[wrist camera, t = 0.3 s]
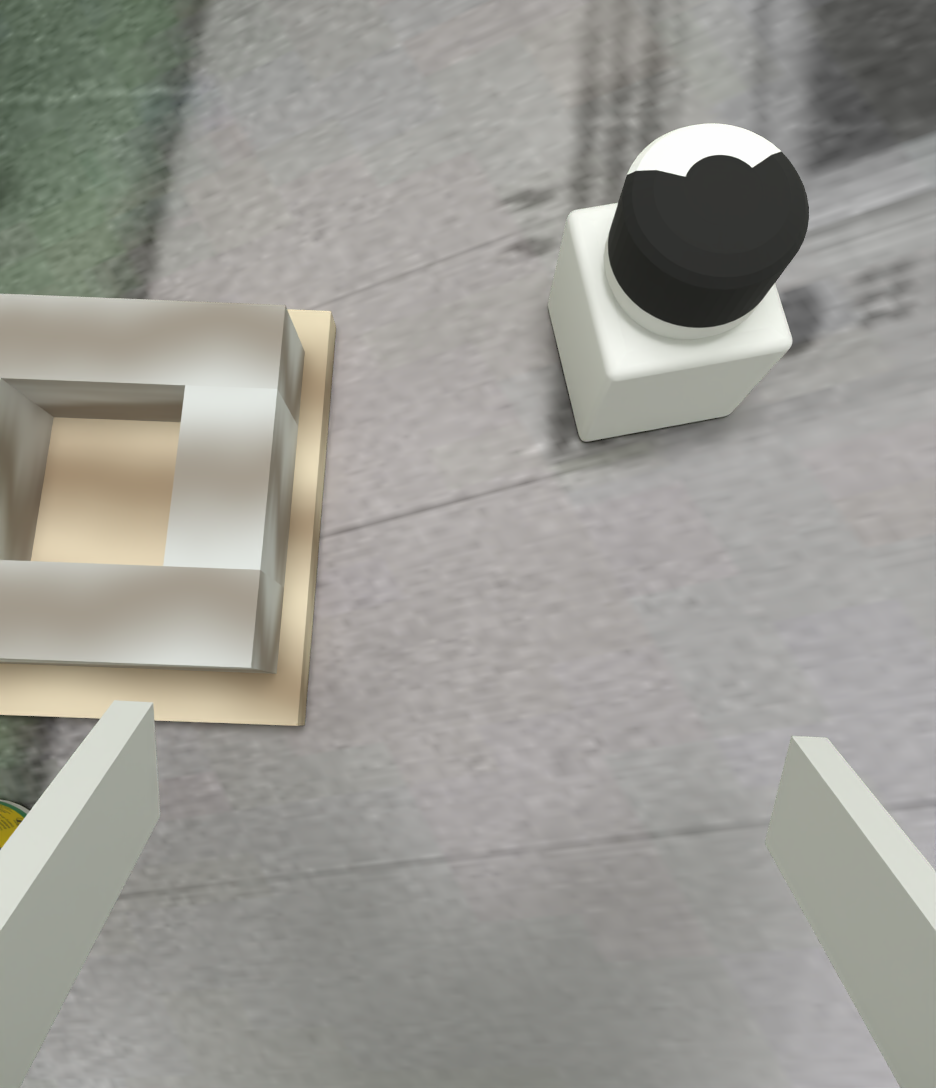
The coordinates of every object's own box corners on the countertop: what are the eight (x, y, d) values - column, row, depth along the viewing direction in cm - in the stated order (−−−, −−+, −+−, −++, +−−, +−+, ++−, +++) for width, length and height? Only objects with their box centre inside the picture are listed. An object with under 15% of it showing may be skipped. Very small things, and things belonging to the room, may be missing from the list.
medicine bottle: (731, 417, 36) (866, 271, 24) (579, 445, 35) (640, 311, 24) (691, 278, 37) (800, 76, 25) (545, 303, 37) (586, 111, 25)
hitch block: (304, 725, 32) (274, 727, 27) (-83, 711, 32) (-190, 710, 27) (335, 327, 36) (315, 260, 31) (-10, 313, 36) (-91, 243, 31)
